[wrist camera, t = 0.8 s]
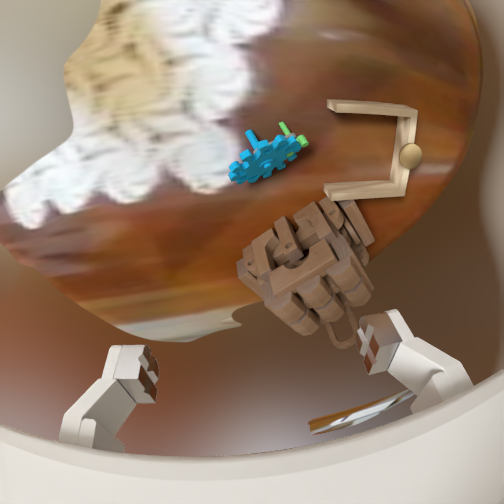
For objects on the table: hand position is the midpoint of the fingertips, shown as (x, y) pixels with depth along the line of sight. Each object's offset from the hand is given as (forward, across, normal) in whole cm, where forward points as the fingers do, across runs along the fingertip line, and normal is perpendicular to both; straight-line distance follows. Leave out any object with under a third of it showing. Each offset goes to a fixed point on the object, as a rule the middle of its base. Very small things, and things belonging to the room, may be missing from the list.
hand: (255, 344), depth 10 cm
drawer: (+33, -21, +1) cm, 39 cm away
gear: (+33, -5, +1) cm, 33 cm away
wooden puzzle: (+35, -10, +19) cm, 41 cm away
